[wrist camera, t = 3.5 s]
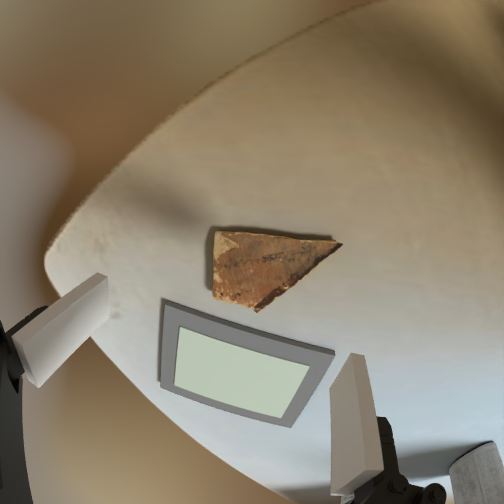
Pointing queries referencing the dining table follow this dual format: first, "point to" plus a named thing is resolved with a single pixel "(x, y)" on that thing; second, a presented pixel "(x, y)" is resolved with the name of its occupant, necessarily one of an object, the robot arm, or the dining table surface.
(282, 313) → the dining table surface
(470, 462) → the grey stoneware bottle
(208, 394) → the mat
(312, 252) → the shard
